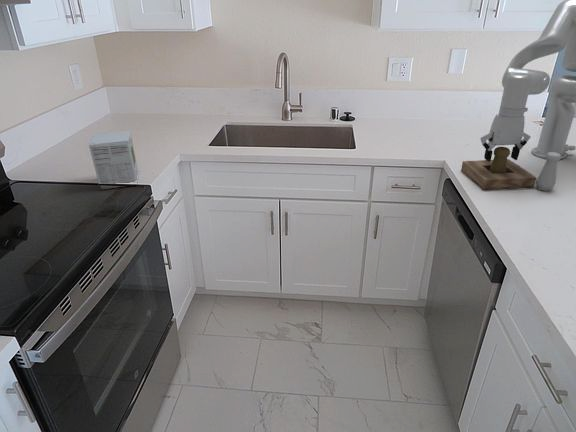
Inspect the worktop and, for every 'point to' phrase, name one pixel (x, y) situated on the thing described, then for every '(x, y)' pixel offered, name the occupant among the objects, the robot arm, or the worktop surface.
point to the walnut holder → (498, 176)
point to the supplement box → (114, 157)
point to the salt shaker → (548, 172)
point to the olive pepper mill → (499, 160)
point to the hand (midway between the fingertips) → (500, 159)
